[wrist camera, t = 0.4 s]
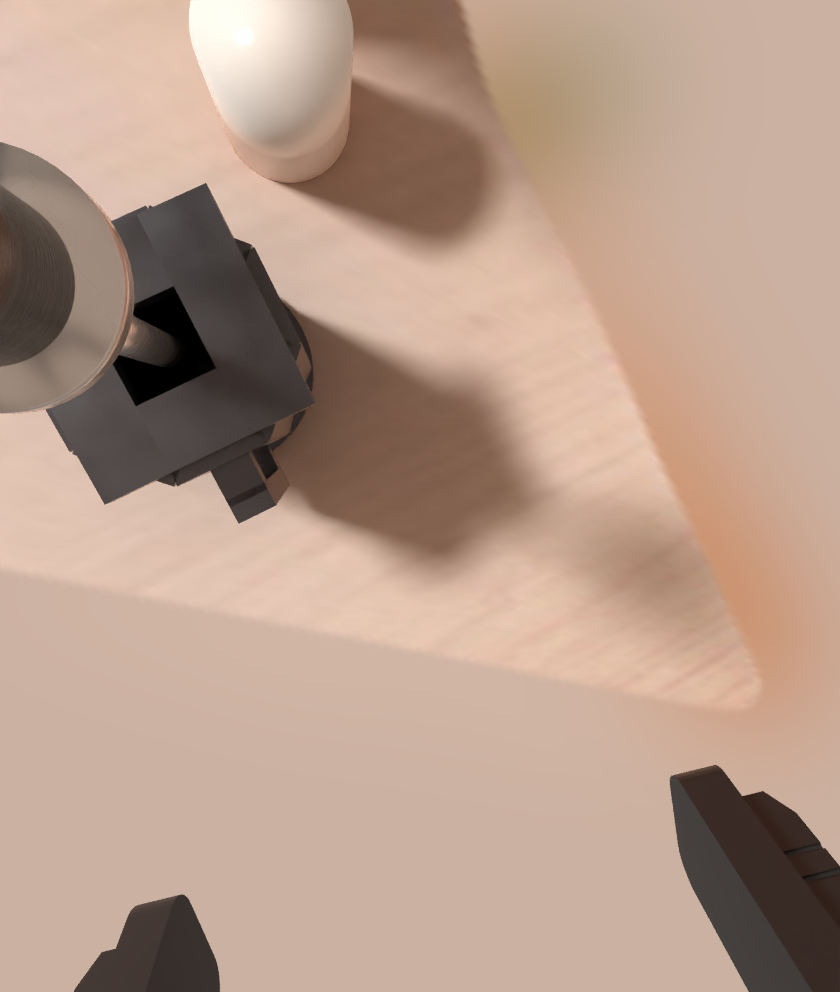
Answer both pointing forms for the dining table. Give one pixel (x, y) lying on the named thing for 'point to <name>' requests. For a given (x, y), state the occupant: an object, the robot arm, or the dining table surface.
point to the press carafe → (218, 380)
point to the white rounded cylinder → (278, 80)
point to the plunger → (65, 291)
